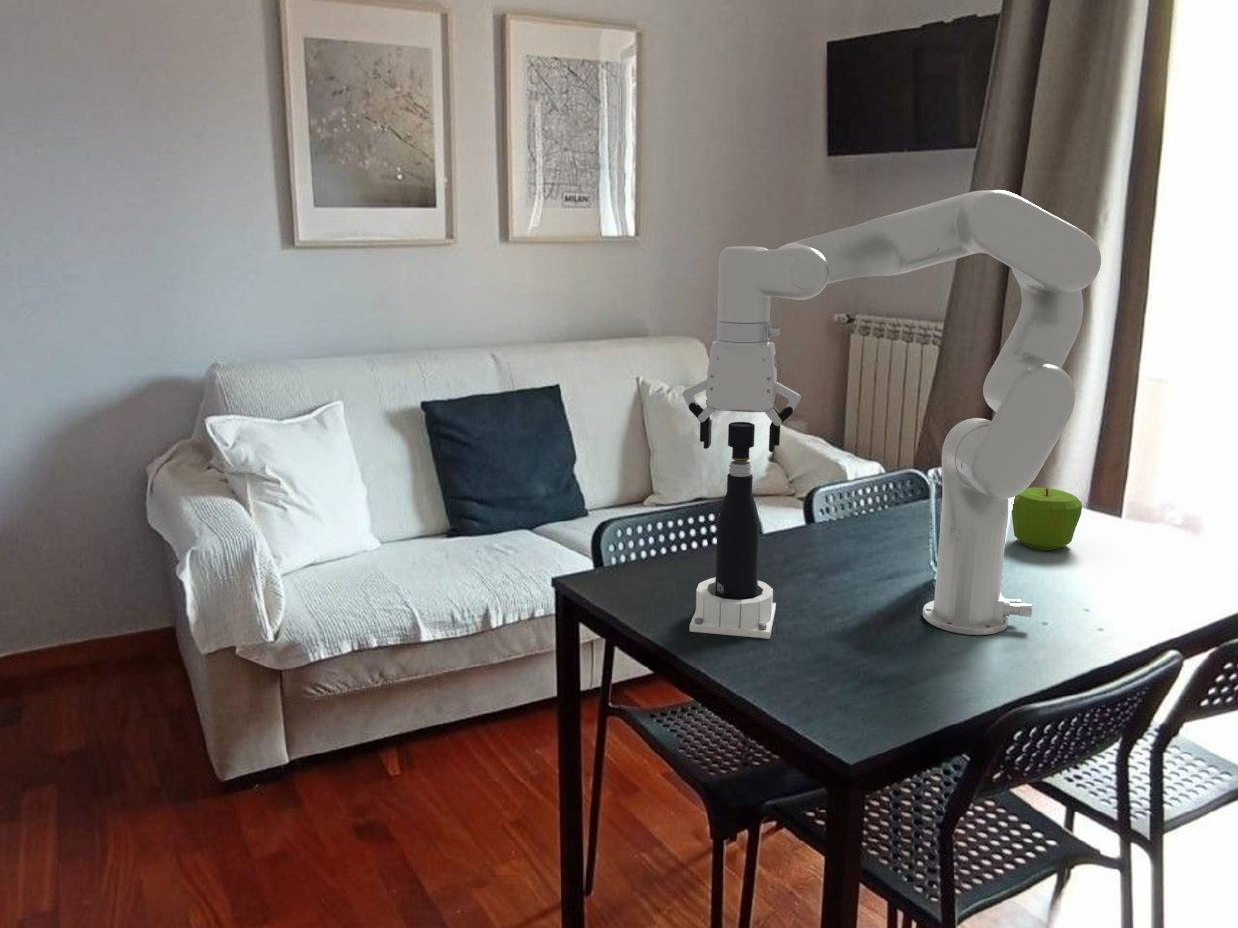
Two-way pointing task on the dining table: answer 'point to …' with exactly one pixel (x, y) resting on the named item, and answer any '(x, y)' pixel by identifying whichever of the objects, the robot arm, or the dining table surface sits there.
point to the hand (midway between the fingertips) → (739, 448)
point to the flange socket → (733, 612)
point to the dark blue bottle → (738, 522)
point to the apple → (1045, 517)
